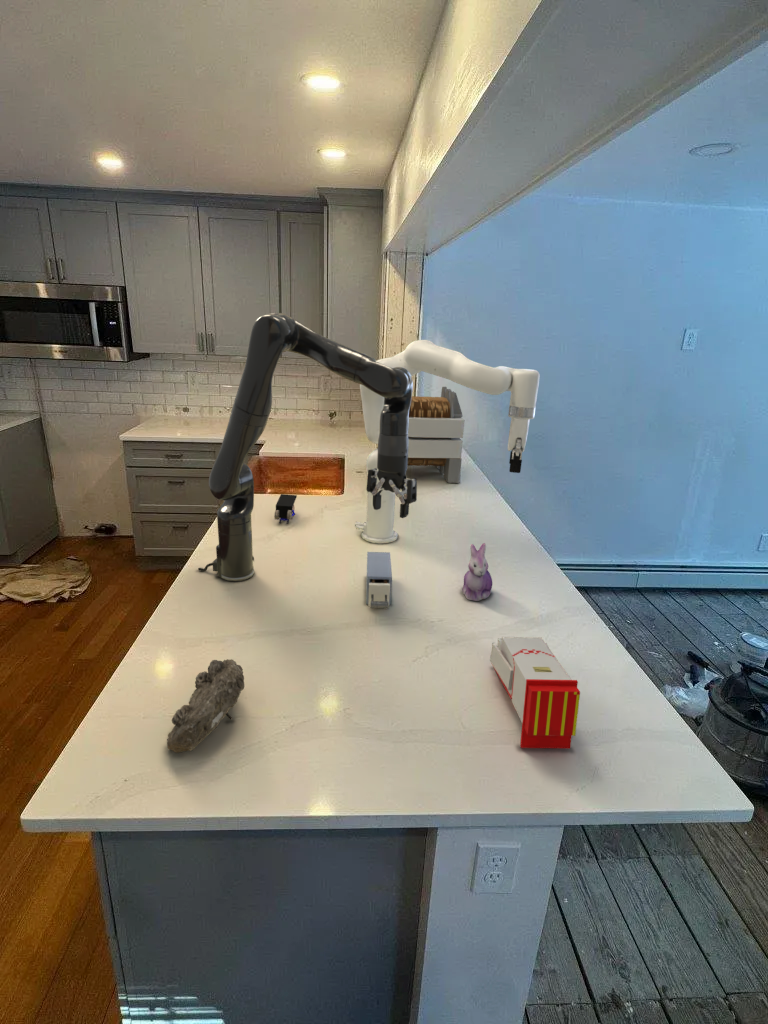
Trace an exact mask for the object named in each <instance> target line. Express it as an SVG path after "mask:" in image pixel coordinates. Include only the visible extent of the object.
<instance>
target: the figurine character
mask: <svg viewBox="0 0 768 1024" xmlns="http://www.w3.org/2000/svg"><path fill="white" fill-rule="evenodd" d="M297 497H298V495H297V494H285V493H280V495H279V497H278V500H277V501H276V504H275V511H274V520H278V524H279V525H280V524H282V522H286V524H287V525H289V523H290V520H291V521H292V519H293V517H294V516H295V515H296V512H295V508H296V507H295V502H296V500H297Z"/></svg>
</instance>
